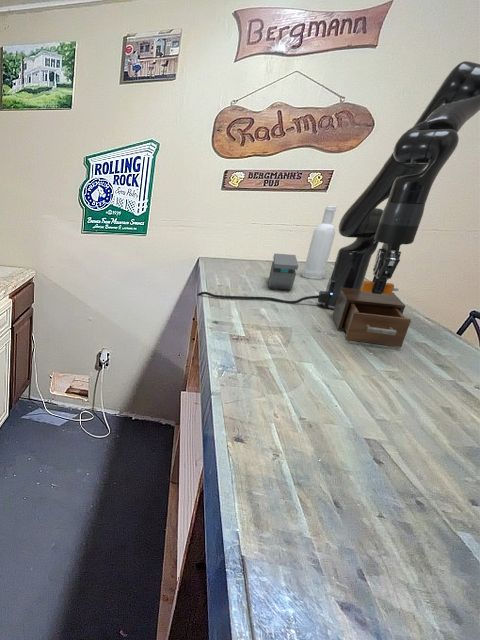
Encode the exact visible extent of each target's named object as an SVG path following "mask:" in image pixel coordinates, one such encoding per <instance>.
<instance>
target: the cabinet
mask: <svg viewBox="0 0 480 640" xmlns="http://www.w3.org/2000/svg"><path fill="white" fill-rule="evenodd" d="M349 303H358V304H368V305H377V306H386V307H396V308H398V309H399V310H400V312H401V313H402V314H403V315H404V311H405V309H406V308H405V307H406V305H405V304H404V302H403V301H402V300H401V299H400V298H399V297H398V296H397V294H395V292H394V291H392V294H391V295H388V294H373V293H369V292H362V291H361V289H353V288H343V287H341V288H340V291H339V294H338V298H337V301H336V305H335V308H334V309H333V312H332V318H333V321H334V324H335V326H336V330H337V331H342V332H346V330H345V328H344V326H343V322H344V319H345V315H346V312H347V309H348V306H349Z"/></svg>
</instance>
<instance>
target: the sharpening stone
mask: <svg viewBox="0 0 480 640" xmlns="http://www.w3.org/2000/svg"><path fill="white" fill-rule="evenodd" d="M272 259H273V261H272V262H271V267H270V271H269V275H268V276H269V277H268V282H267V283H268V285H267V287H268V288H269V289H276V290H288V291H291V290H292V288H293V285H294V282H295V280H296V276H297V273H296V271H298V268H299V264H298V259H297V256H296V254H286V253H273V257H272Z"/></svg>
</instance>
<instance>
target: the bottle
mask: <svg viewBox="0 0 480 640" xmlns="http://www.w3.org/2000/svg"><path fill="white" fill-rule="evenodd" d="M336 211H337V206H336V205H326V206H325V208H324V213H323V215H322V220H321V223H320V224H318V225H317V226H316V227H315V228H314V230H313V232H312V236H311V241H310V244H309V248H308V252H307V255H306V256H307V257H306V260H305V263H304V267H303V270H302V275H301V276H302V277H303V278H306V279H311V280H322V279H324V276H325V273H326V268H327V265H328V262H329V258H330V253H331V250H332V246H333V243H334V239H335V236H336V227H335V225H334V224H333V221H334V217H335V213H336Z"/></svg>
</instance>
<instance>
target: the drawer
mask: <svg viewBox="0 0 480 640" xmlns="http://www.w3.org/2000/svg"><path fill="white" fill-rule="evenodd" d="M411 321H412V319H411V318H409V317H406V316H405V315H404V313H403V314H402V313H401V312H400V310H399V309H398V308H396V307H386V306H377V305H368V304H358V303H349V306H348V309H347V312H346V315H345V319H344V322H343V326H344V328H345V330H346V331H345V333H346V335H345V338H344V339H345V340H347V341H348V340H349V341H354V342H360V343H369V344H375V345H376V344H377V345H384V346H391V347H397V348H402V346H403V343H404V341H405V338H406V335H407V333H408V330H409V328H410V323H411Z"/></svg>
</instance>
